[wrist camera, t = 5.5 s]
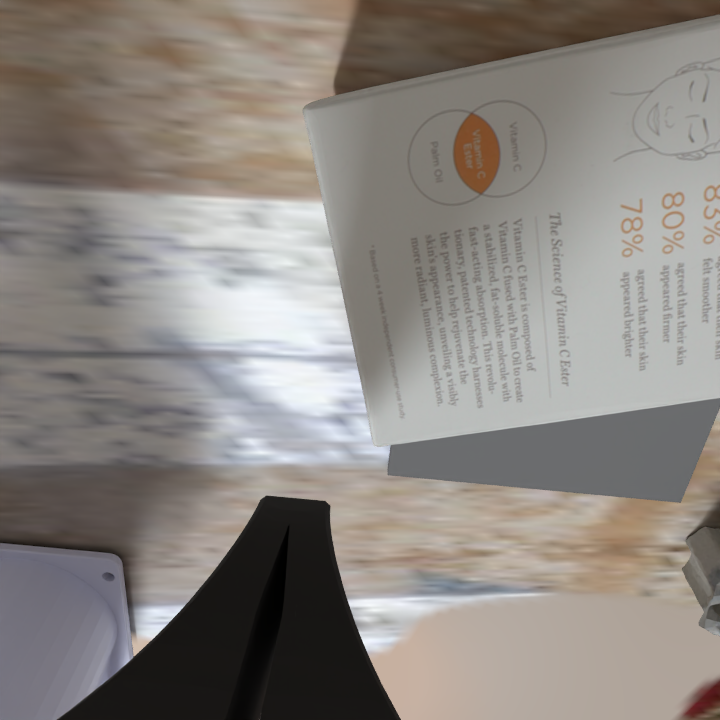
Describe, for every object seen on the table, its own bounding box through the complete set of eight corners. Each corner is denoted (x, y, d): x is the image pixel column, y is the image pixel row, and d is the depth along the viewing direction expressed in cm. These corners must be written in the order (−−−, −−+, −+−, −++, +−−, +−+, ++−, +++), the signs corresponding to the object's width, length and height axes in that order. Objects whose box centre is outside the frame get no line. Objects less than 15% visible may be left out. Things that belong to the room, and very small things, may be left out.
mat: (676, 495, 25) (680, 502, 24) (387, 468, 25) (387, 475, 24) (792, 209, 20) (799, 213, 19) (426, 174, 19) (427, 177, 19)
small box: (375, 353, 21) (793, 288, 20) (369, 454, 16) (958, 374, 14) (325, 91, 18) (814, -8, 17) (295, 97, 13) (1037, -53, 11)
